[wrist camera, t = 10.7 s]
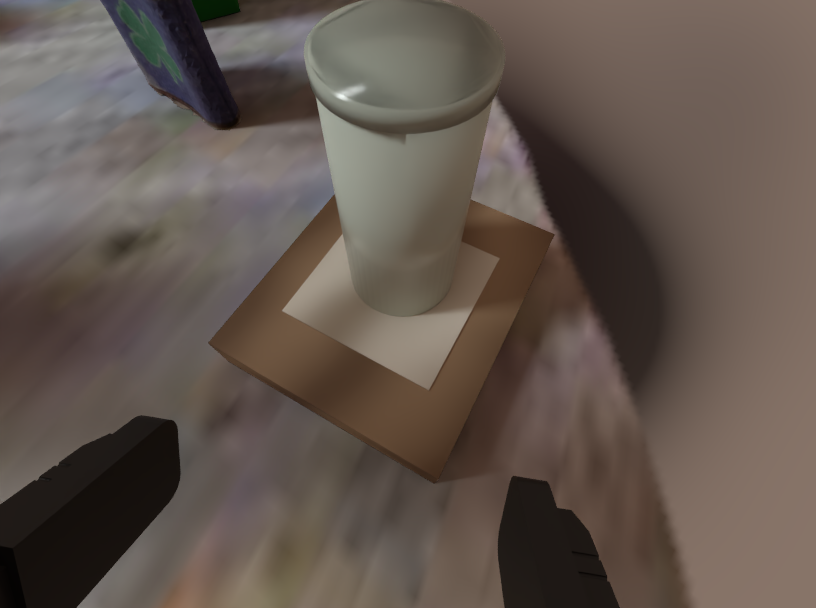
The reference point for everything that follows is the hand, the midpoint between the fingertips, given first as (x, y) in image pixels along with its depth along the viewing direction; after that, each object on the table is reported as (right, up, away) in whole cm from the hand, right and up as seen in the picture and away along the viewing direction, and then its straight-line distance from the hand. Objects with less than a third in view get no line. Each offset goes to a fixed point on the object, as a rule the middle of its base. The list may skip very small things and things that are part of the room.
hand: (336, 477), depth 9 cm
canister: (+1, +6, +11) cm, 13 cm away
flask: (-14, +19, +21) cm, 32 cm away
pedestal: (+1, +4, +13) cm, 14 cm away
